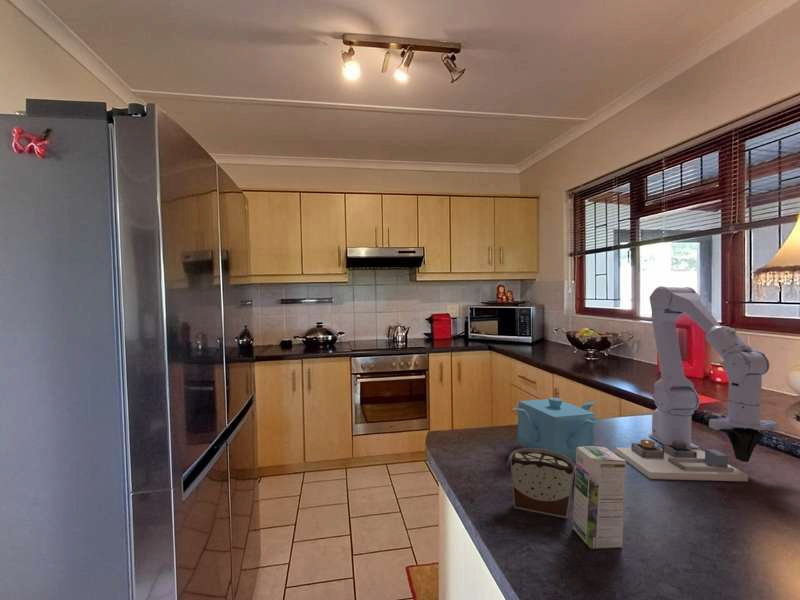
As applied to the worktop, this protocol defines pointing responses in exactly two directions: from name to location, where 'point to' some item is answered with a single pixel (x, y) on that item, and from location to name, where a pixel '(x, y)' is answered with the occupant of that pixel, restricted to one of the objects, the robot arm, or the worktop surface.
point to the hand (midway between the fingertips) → (741, 460)
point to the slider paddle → (716, 458)
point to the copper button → (647, 445)
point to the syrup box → (599, 497)
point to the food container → (541, 481)
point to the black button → (679, 445)
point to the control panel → (677, 464)
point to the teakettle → (555, 425)
